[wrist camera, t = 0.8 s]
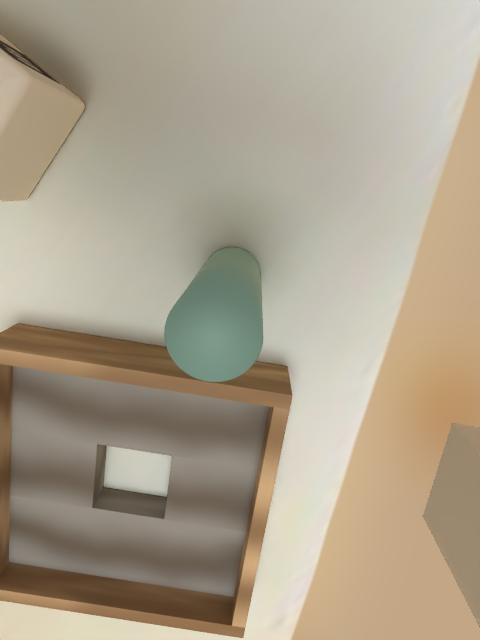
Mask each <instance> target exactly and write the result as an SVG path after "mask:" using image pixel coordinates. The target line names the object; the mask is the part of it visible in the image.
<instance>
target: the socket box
mask: <svg viewBox="0 0 480 640" xmlns="http://www.w3.org/2000/svg"><path fill="white" fill-rule="evenodd" d="M291 399H292V391H291V385H290V379H289V373H288V367H287V366H282V365H275V364H269V363H263V362H256V361H255V362H254V364H253V365H252V366H251V367H250V368H249V369H248V370H247V371H246V372H244V373H243V374H241V375H240V376H238V377H236V378H233V379H231V380H227V381H222V382H209V381H203V380H200V379H197V378H194V377H192V376H190V375H188V374H187V373H185V372H184V371H183V370H182V369H180V368H179V367H178V366H177V364H176V363H175V362H174V361H173V359H172V358H171V356H170V354H169V352H168V349H167V347H162V346H156V345H149V344H143V343H137V342H130V341H124V340H118V339H112V338H105V337H99V336H93V335H86V334H80V333H74V332H67V331H61V330H55V329H49V328H42V327H36V326H30V325H23V324H16V325H14V326H12V327H10V328H9V329H7V330H5V331H3V332H1V333H0V601H7V602H13V603H20V604H26V605H33V606H39V607H46V608H52V609H58V610H65V611H71V612H78V613H84V614H91V615H97V616H104V617H110V618H117V619H123V620H129V621H136V622H142V623H149V624H155V625H162V626H168V627H175V628H181V629H187V630H194V631H200V632H207V633H213V634H220V635H226V636H233V637H239V638H243V636H244V631H245V626H246V621H247V616H248V611H249V607H250V602H251V597H252V592H253V587H254V582H255V577H256V572H257V567H258V562H259V557H260V552H261V547H262V542H263V537H264V533H265V528H266V523H267V518H268V513H269V508H270V503H271V498H272V493H273V488H274V483H275V478H276V473H277V468H278V463H279V459H280V454H281V449H282V444H283V439H284V434H285V429H286V424H287V419H288V414H289V409H290V404H291ZM106 446H113V447H119V448H126V449H132V450H139V451H145V452H151V453H158V454H164V455H170V456H172V463H171V471H170V479H169V486H168V494H167V497H161V496H154V495H148V494H141V493H135V492H129V491H122V490H116V489H110V488H103V481H104V470H105V458H106Z"/></svg>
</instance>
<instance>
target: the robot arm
mask: <svg viewBox="0 0 480 640" xmlns="http://www.w3.org/2000/svg"><path fill="white" fill-rule="evenodd" d="M423 517H424V519H425V521H426V523H427V525H428V527H429V529H430V531H431V533H432V535H433V537H434V539H435V541H436V543H437V545H438V547H439V548H440V550H441V552H442V554H443V556H444V558H445V560H446V562H447V564H448V566H449V568H450V570H451V572H452V574H453V576H454V578H455V580H456V582H457V584H458V586H459V588H460V589H461V591H462V593H463V595H464V597H465V599H466V601H467V603H468V605H469V607H470V609H471V611H472V613H473V615H474V617H475V619H476V621H477V623H478V625H479V627H480V427H474V426H468V425H462V424H456V423H452V425H451V428H450V432H449V435H448V438H447V441H446V445H445V447H444V451H443V454H442V457H441V461H440V463H439V467H438V470H437V473H436V476H435V479H434V482H433V486H432V489H431V492H430V495H429V498H428V502H427V505H426V508H425V511H424V514H423Z"/></svg>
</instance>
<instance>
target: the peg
mask: <svg viewBox="0 0 480 640" xmlns="http://www.w3.org/2000/svg"><path fill="white" fill-rule="evenodd" d="M165 342H166V347H167V349H168V352H169V354H170V356H171V358H172V359H173V361H174V362H175V363H176V364H177V366H178V367H179V368H180V369H182V370H183V371H184V372H185V373H187V374H188V375H190V376H192V377H194V378H197V379H200V380H203V381H209V382H222V381H227V380H231V379H233V378H236V377H238V376H240V375H241V374H243V373H244V372H246V371H247V370H248V369H249V368H250V367H251V366H252V365H253V364H254V362H255V361H256V359H257V358H258V356H259V354H260V351H261V348H262V344H263V319H262V293H261V271H260V267H259V264H258V262H257V261H256V259H255V258H254V257H253V256H252V255H251V254H250V253H249V252H247V251H246V250H244V249H241V248H237V247H227V248H223V249H220V250H218V251H217V252H215V253H214V254H213V255H212V256H211V257H210V258H209V259H208V261H207V262H206V263H205V265H204V266H203V267H202V269H201V270H200V271H199V273H198V274H197V276H196V277H195V278H194V280H193V281H192V282H191V284H190V285H189V286H188V288H187V289H186V290H185V292H184V293H183V294H182V296H181V297H180V298H179V300H178V301H177V303H176V304H175V305H174V307H173V308H172V310H171V311H170V313H169V315H168V318H167V321H166V325H165Z"/></svg>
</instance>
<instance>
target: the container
mask: <svg viewBox="0 0 480 640" xmlns="http://www.w3.org/2000/svg"><path fill="white" fill-rule="evenodd" d="M84 108H85V106H84V103H83V102H82V100H80V99H79V98H78V97H77V96H76V95H74V94H73V93H72V92H71V91H69V90H68V89H67V88H66V87H64V86H63V85H62V84H61V83H60V82H58V81H57V80H56V79H55V78H53V77H52V76H51V75H50V74H49V73H47V72H46V71H45V70H44V69H42V68H41V67H40V66H39V65H37V64H36V63H35V62H34V61H33V60H31V59H30V58H29V57H28V56H26V55H25V54H24V53H23V52H22V51H20V50H19V49H18V48H17V47H15V46H14V45H13V44H12V43H10V42H9V41H8V40H7V39H6V38H4V37H3V36H2V35H1V34H0V201H22V200H26V199H27V198H28V197H29V195H30V194H31V192H32V191H33V189H34V188H35V186H36V184H37V183H38V181H39V180H40V178H41V177H42V175H43V173H44V172H45V170H46V169H47V167H48V166H49V164H50V163H51V161H52V159H53V158H54V156H55V155H56V153H57V152H58V150H59V148H60V147H61V145H62V144H63V142H64V141H65V139H66V137H67V136H68V134H69V133H70V131H71V130H72V128H73V126H74V125H75V123H76V122H77V120H78V119H79V117H80V115H81V114H82V112H83V111H84Z"/></svg>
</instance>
